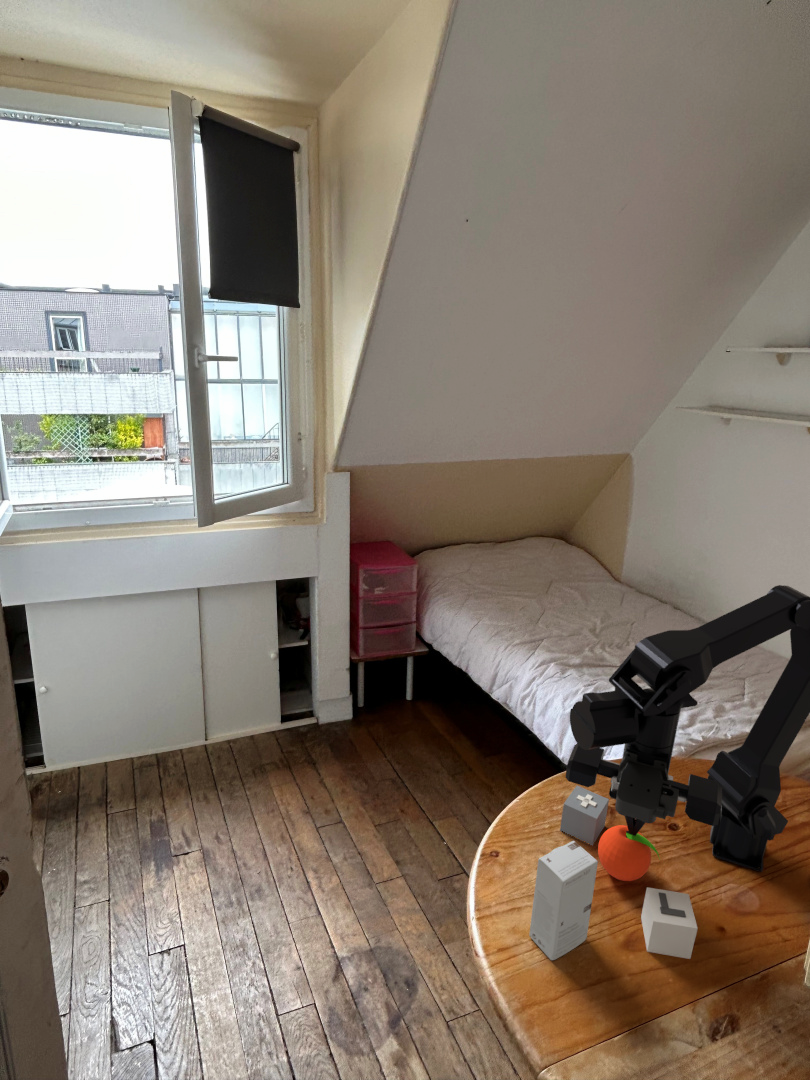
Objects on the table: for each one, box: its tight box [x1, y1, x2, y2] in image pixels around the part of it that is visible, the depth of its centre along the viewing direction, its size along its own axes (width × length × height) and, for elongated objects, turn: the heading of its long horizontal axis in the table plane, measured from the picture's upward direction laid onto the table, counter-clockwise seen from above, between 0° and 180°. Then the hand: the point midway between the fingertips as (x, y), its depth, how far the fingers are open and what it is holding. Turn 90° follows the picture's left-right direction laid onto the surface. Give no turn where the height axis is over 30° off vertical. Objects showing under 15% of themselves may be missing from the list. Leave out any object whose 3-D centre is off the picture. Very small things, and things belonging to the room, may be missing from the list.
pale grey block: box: [640, 887, 698, 960], centre depth 84 cm, size 5×5×5 cm
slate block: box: [559, 785, 610, 847], centre depth 101 cm, size 5×5×5 cm
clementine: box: [597, 824, 661, 882], centre depth 93 cm, size 8×7×7 cm
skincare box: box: [529, 840, 599, 961], centre depth 82 cm, size 6×4×12 cm
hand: (632, 833), depth 92 cm, fingers closed, pressing on clementine
